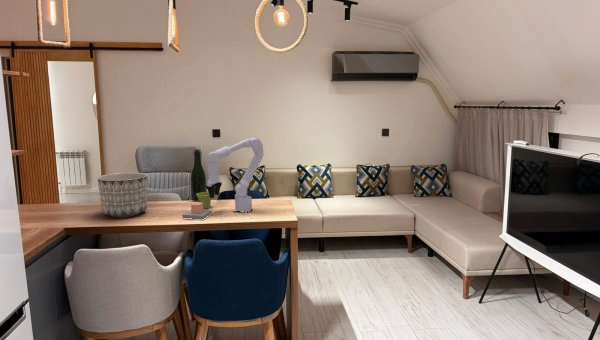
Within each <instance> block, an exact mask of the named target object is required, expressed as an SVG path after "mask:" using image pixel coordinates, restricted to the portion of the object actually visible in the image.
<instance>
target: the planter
mask: <svg viewBox="0 0 600 340" xmlns="http://www.w3.org/2000/svg"><path fill="white" fill-rule="evenodd" d="M97 185H98V191H99V198H100V199H99V200H100V206H101V210H102V213H103V214H104V215H106V216H111V217H112V218H130V217H135V216H137V215H139V214H140V213H142V212H143V213H144V211H146V210H147V208H148V174H146V173H143V172H116V173H107V174H104V175H100V176H98V177H97Z"/></svg>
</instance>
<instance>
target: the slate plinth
mask: <svg viewBox="0 0 600 340" xmlns="http://www.w3.org/2000/svg"><path fill="white" fill-rule="evenodd" d="M212 211H213V210H209V209H203V212H202V213H200V214H194V213H191V209H190V210H188V211H186V212H185V213H183V214H182V219H183V218H192V219H204V218H206V217H207V216H209V215H210V214H213V212H212ZM210 216H211V215H210ZM210 216H209V217H210ZM207 218H208V217H207ZM207 218H206V219H207ZM204 220H205V219H204Z"/></svg>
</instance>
